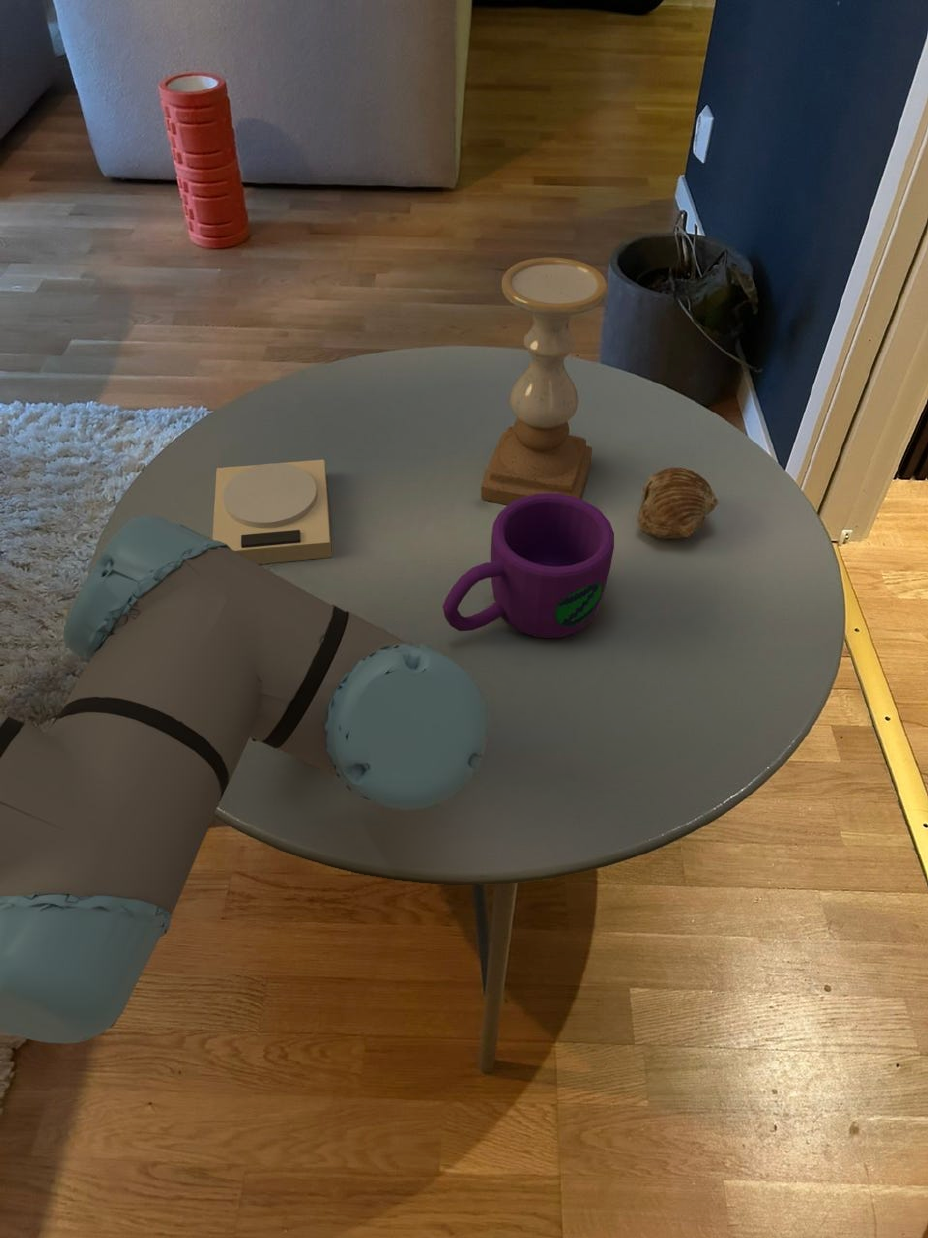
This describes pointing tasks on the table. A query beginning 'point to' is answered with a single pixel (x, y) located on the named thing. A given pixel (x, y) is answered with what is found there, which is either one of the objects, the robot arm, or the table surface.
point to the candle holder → (544, 384)
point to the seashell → (675, 503)
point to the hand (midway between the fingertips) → (315, 677)
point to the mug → (541, 567)
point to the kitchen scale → (273, 511)
